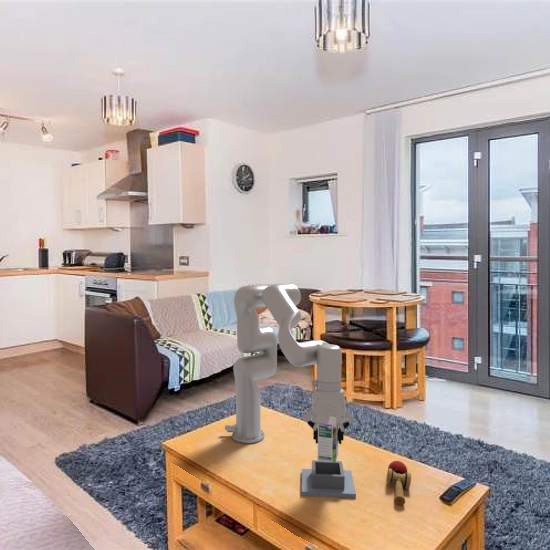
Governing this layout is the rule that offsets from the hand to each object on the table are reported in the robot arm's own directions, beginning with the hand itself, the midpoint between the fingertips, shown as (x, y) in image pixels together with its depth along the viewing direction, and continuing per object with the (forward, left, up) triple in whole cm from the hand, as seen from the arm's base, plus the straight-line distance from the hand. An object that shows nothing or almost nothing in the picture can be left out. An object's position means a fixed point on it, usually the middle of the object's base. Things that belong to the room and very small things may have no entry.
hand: (328, 441), depth 139 cm
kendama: (+22, -1, -14) cm, 26 cm away
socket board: (0, 0, -14) cm, 14 cm away
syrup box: (0, 0, -5) cm, 5 cm away
